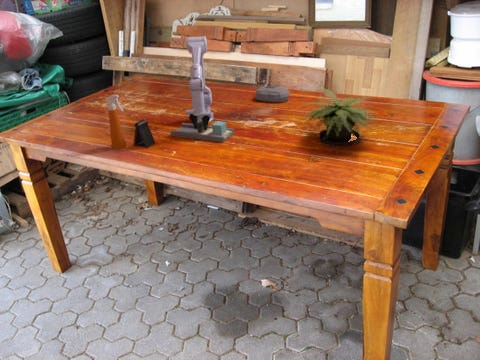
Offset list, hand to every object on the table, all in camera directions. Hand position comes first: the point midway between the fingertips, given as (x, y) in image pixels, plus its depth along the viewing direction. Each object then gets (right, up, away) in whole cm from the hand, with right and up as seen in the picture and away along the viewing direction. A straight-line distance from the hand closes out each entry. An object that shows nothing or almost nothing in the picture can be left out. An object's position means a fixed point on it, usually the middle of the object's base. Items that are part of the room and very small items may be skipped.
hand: (201, 129), depth 226 cm
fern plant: (+66, -6, -15) cm, 68 cm away
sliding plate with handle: (+6, -3, -2) cm, 7 cm away
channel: (+1, -2, +1) cm, 3 cm away
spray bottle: (-38, -10, -7) cm, 39 cm away
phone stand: (-27, -8, -6) cm, 29 cm away
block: (+10, -2, -4) cm, 11 cm away
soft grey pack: (+40, +23, +45) cm, 64 cm away
